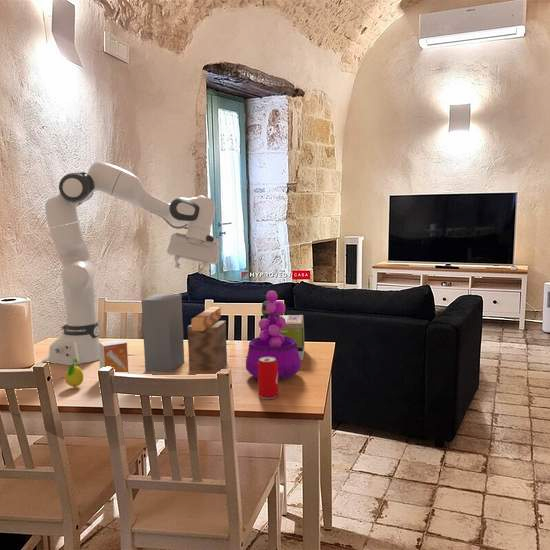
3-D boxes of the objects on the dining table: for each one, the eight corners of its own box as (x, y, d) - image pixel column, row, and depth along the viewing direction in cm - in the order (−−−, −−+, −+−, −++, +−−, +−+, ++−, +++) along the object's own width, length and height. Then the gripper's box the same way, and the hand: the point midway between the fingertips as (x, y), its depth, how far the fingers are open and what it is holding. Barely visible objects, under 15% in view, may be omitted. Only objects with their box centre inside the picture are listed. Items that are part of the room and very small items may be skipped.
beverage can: (281, 394, 167) (280, 356, 166) (274, 401, 161) (273, 362, 160) (262, 392, 169) (261, 355, 168) (255, 399, 164) (254, 360, 162)
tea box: (280, 350, 218) (279, 314, 216) (304, 350, 217) (304, 314, 215) (276, 360, 203) (275, 322, 201) (303, 361, 202) (302, 322, 200)
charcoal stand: (159, 360, 206) (156, 293, 203) (184, 361, 204) (181, 294, 201) (145, 371, 193) (141, 300, 190) (171, 372, 192) (168, 300, 188)
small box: (105, 383, 181) (103, 346, 179) (100, 378, 186) (98, 342, 184) (129, 379, 185) (127, 342, 183) (123, 374, 190) (121, 338, 189)
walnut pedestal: (189, 370, 193) (187, 326, 191) (199, 361, 204) (197, 320, 202) (218, 371, 191) (217, 327, 189) (227, 362, 202) (225, 320, 200)
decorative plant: (265, 365, 197) (263, 284, 193) (310, 373, 188) (309, 288, 184) (235, 380, 181) (232, 292, 177) (283, 389, 172) (281, 296, 168)
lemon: (79, 383, 182) (77, 354, 180) (89, 386, 178) (87, 357, 177) (60, 388, 177) (58, 359, 175) (70, 392, 173) (68, 362, 172)
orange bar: (210, 317, 207) (210, 307, 206) (220, 317, 206) (220, 307, 206) (191, 330, 186) (191, 319, 185) (202, 330, 185) (202, 319, 184)
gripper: (170, 229, 210) (161, 263, 208) (220, 239, 208) (211, 274, 205) (174, 233, 216) (165, 266, 214) (223, 244, 214) (214, 277, 211)
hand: (188, 270), depth 210 cm, fingers open, 8 cm apart
